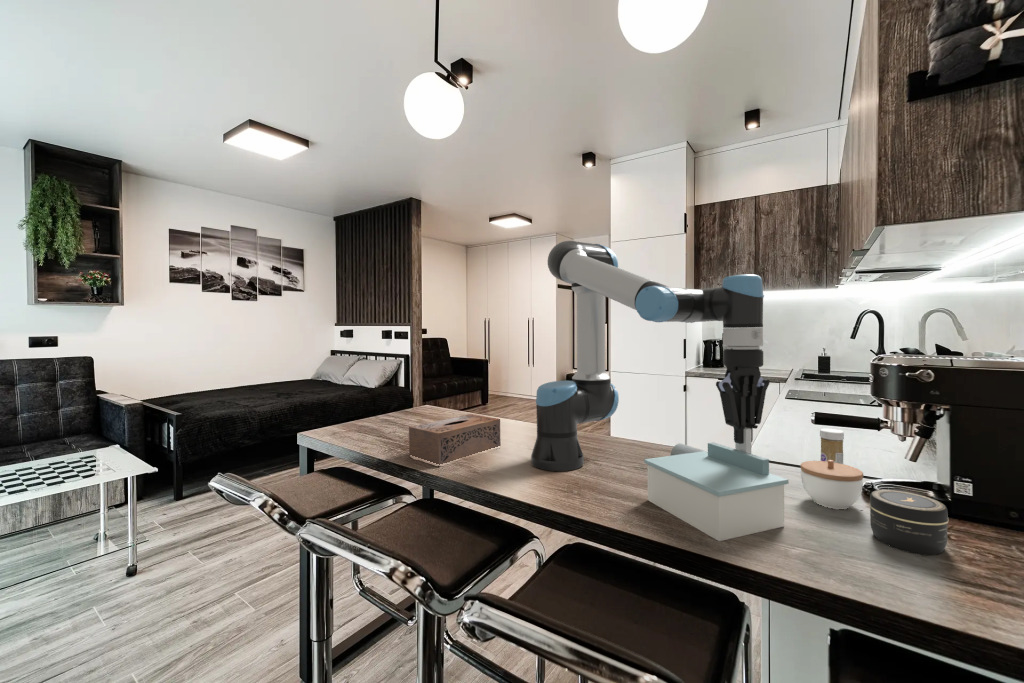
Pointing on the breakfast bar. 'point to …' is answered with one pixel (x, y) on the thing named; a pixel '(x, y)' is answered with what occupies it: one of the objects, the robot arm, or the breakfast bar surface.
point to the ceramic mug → (684, 449)
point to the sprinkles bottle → (832, 445)
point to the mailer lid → (720, 470)
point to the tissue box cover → (454, 438)
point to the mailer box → (717, 506)
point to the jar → (909, 521)
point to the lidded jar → (832, 483)
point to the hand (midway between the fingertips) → (743, 457)
